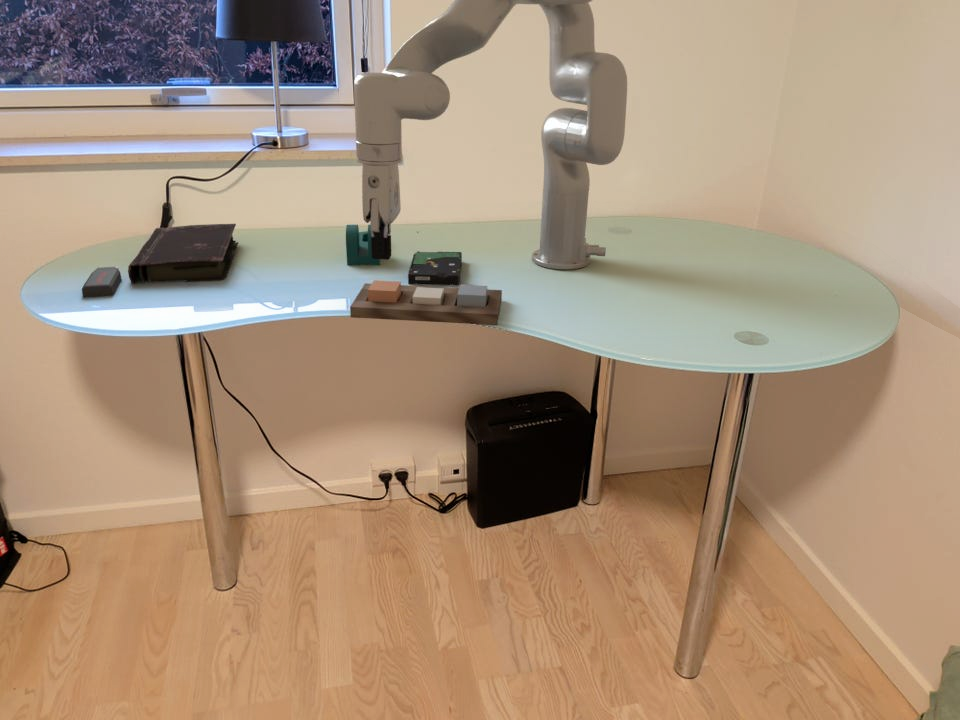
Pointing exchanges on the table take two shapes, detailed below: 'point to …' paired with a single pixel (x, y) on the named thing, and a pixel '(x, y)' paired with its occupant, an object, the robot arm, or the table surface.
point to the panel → (427, 308)
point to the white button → (428, 296)
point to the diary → (185, 254)
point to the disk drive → (435, 268)
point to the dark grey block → (102, 282)
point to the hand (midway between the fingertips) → (381, 257)
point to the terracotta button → (384, 291)
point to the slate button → (472, 296)
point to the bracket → (359, 246)
